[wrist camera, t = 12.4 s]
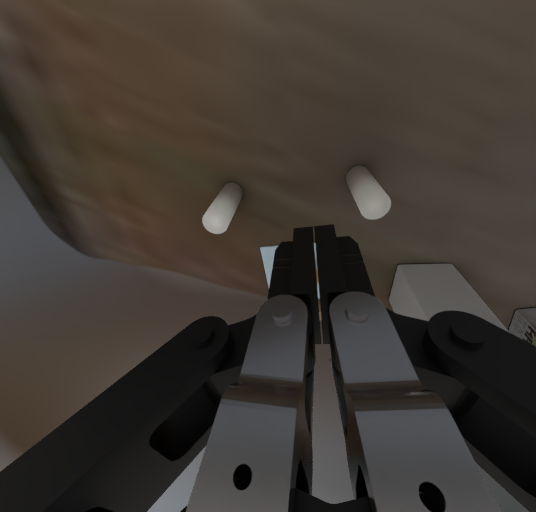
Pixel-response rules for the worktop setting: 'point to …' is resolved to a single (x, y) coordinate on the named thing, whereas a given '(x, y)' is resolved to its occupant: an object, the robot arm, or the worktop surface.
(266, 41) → the worktop surface
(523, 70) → the worktop surface
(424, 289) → the milk carton
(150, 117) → the worktop surface
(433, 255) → the worktop surface
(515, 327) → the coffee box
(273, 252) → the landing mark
